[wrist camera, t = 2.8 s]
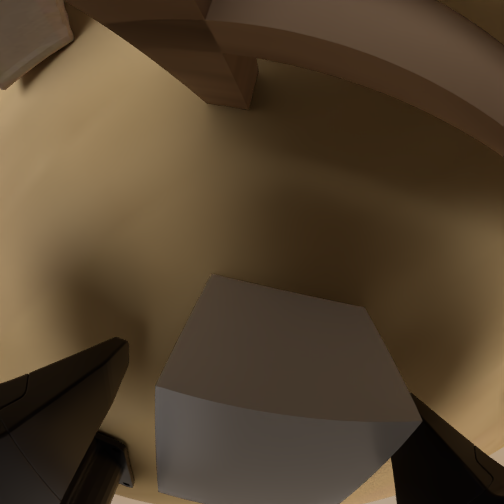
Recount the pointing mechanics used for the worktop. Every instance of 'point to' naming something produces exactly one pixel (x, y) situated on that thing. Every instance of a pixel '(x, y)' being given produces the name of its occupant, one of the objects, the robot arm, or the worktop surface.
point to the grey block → (30, 35)
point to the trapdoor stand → (324, 50)
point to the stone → (276, 399)
